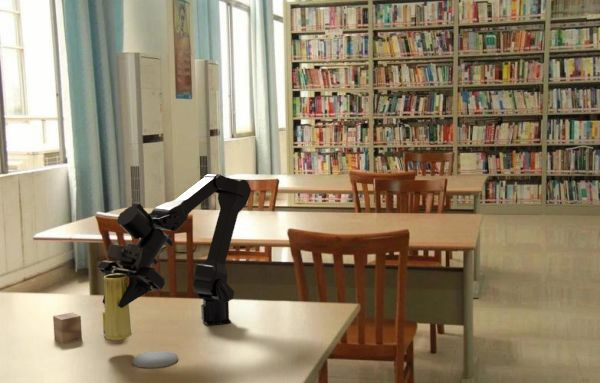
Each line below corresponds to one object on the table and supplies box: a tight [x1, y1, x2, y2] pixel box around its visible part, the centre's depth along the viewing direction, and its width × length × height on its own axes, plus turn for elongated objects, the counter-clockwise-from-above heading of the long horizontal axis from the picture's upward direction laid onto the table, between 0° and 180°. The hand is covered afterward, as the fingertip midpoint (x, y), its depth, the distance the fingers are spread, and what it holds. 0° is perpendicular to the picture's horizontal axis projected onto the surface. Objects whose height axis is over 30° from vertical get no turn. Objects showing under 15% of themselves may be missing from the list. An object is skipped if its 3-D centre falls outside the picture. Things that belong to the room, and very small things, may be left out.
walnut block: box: [52, 312, 83, 344], centre depth 186 cm, size 5×5×6 cm
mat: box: [132, 350, 179, 369], centre depth 168 cm, size 10×10×1 cm
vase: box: [103, 274, 133, 341], centre depth 173 cm, size 6×6×14 cm
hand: (111, 305), depth 172 cm, fingers closed on vase, 5 cm apart
